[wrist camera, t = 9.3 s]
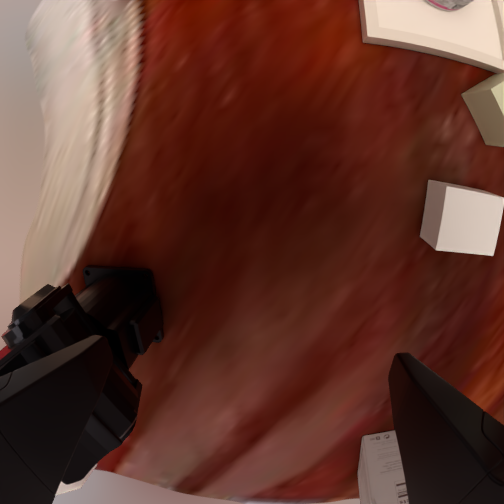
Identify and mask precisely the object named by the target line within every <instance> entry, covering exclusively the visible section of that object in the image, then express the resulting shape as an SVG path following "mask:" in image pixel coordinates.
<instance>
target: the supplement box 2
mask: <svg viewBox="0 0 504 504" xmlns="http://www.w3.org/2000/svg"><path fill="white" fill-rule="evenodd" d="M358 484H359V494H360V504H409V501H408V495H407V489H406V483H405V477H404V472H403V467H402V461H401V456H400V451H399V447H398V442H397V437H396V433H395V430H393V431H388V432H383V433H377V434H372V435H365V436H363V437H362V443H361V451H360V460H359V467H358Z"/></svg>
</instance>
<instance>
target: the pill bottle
mask: <svg viewBox="0 0 504 504" xmlns="http://www.w3.org/2000/svg"><path fill="white" fill-rule="evenodd" d="M425 1H426V2H428V3H429V4H431V5H433V6H435V7H437V8H439V9H442V10H445V11H456V10H459V9H461V8H463V7H464V6H466V5H468V4H469V3H470V2H472V1H474V0H425Z"/></svg>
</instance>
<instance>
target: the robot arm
mask: <svg viewBox="0 0 504 504" xmlns="http://www.w3.org/2000/svg"><path fill="white" fill-rule="evenodd" d="M88 271H89V272H90V273H88ZM144 274H147V275H148V278H147V277H145V275H144ZM83 275H84V279H85V284H86V287H85V288H84V289H83V290H81V291H80V292H79V293H78V294H77V295H74V294H73V292H72V288H71V286H70V285H69V283H68V284H66V285H65V286H63V287H62V288H61V287H60V286H58V287H56V288H55V287H53V286H51V285H49V284H47V285H46V286H44V287H43V288H42V289H40V290H39V291H38V292H36V293H35V294H33V295H32V296H31V297H29V298H28V299H27V300H26V301H24V302H23V303H22V304H20V305H19V306H18V307H16V308H15V309H14V310H13V315H12V322H11V323H10V324H9V325H8V330H7V331H6V332H5V333H4V334H3V335H2V336H1V337H2V338H3V340H4V341H5V343H6V344H7V345H6V346H5V347H4V348H3V349H2V350H1V351H0V504H52V503H53V500H54V498H55V494H56V492H57V490H58V487H59V485H60V483H61V482H63V483H64V484H66V485H69V484H72V483H75V482H78V481H81V480H82V479H83V478H84V477H85V476H86V475H87V474H88V473H89V471H90V470H91V469H92V468H93V467H94V466H95V465H96V464H97V463H98V461H99V460H101V459H102V458H103V457H104V456H105V455H107V454H108V453H109V452H110V451H112V450H114V449H115V448H117V447H119V446H120V445H121V444H122V443H123V441H124V440H125V439H126V438H127V437H128V436H129V434H130V433H131V432H132V430H133V428H134V426H135V423H136V419H137V413H138V407H139V401H140V395H141V390H142V384H141V383H140V382H139V380H138V379H135V378H134V377H133V375H132V374H131V373H130V372H129V368H130V367H131V365H132V364H133V362H134V361H135V359H136V358H137V356H138V355H143V354H144V353H145V352H146V351H147V349H148V347H149V346H150V344H151V343H152V342H161V341H162V339H163V337H164V335H163V330H162V326H163V320H162V314H161V308H160V302H159V298H158V296H157V295H156V290H155V284H154V277H153V273H152V271H151V270H149V269H145V268H126V267H108V266H90V265H88V266H86V267H85V268H84V269H83ZM156 335H157V336H158V337H157V336H156ZM388 381H389V389H390V397H391V406H392V415H393V423H394V428H395V433H396V437H397V442H398V447H399V451H400V456H401V461H402V467H403V472H404V477H405V483H406V489H407V495H408V501H409V504H504V425H502V424H501V423H500V422H498V421H497V420H496V419H494V418H493V417H492V416H490V415H489V414H488V413H487V412H485V411H484V412H483V409H481V408H480V407H479V406H477V405H476V404H475V403H474V402H472V401H471V400H470V399H468V398H467V397H466V396H465V395H463V394H462V393H461V392H459V391H458V390H457V389H456V388H454V387H453V386H452V385H450V384H449V383H448V382H446V381H445V380H444V379H442V378H441V377H440V376H439V375H437V374H436V373H435V372H433V371H432V370H431V369H429V368H428V367H427V366H425V365H424V364H423V363H422V362H420V361H419V360H418V359H416V358H415V357H414V356H412V355H411V354H410V353H397V354H395V356H394V359H393V362H392V365H391V369H390V372H389V377H388Z"/></svg>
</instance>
